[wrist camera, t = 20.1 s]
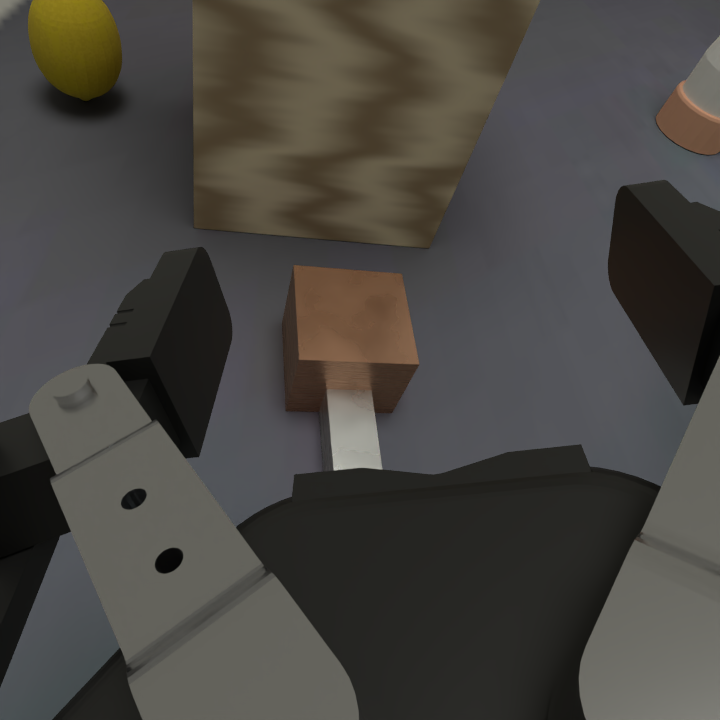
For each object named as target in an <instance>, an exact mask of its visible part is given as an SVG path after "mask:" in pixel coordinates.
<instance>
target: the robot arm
mask: <svg viewBox="0 0 720 720" xmlns="http://www.w3.org/2000/svg"><path fill="white" fill-rule="evenodd" d="M608 275H609V281H610V285H611V288H612V291H613V293H614V294H615V296H616V298H617V299H618V301H619V302H620V304H621V306H622V307H623V309H624V311H625V312H626V314H627V315H628V317H629V319H630V320H631V322H632V323H633V325H634V327H635V328H636V330H637V331H638V333H639V335H640V336H641V338H642V339H643V341H644V343H645V344H646V346H647V348H648V349H649V351H650V352H651V354H652V356H653V357H654V359H655V360H656V362H657V364H658V365H659V367H660V368H661V370H662V372H663V373H664V375H665V377H666V378H667V380H668V381H669V383H670V385H671V386H672V388H673V389H674V391H675V393H676V394H677V396H678V397H679V399H680V401H681V402H682V404H683V405H690V404H698V406H697V408H696V410H695V412H694V415H693V417H692V419H691V421H690V424H689V426H688V428H687V430H686V433H685V435H684V437H683V439H682V442H681V444H680V446H679V448H678V451H677V453H676V455H675V457H674V460H673V462H672V464H671V466H670V469H669V471H668V473H667V475H666V478H665V480H664V482H663V484H662V487H660V486H658V485H656V484H654V483H651V482H649V481H646V480H644V479H641V478H639V477H636V476H633V475H629V474H626V473H622V472H619V471H614V470H609V469H604V468H598V467H590V466H589V464H588V461H587V458H586V456H585V453H584V451H583V448H582V446H581V445H572V446H562V447H553V448H543V449H534V450H524V451H515V452H507V453H504V454H501V455H498V456H495V457H492V458H488V459H485V460H482V461H479V462H476V463H473V464H470V465H467V466H464V467H460V468H457V469H454V470H451V471H448V472H445V473H441V474H434V475H431V474H419V473H410V472H400V471H391V470H381V469H371V468H353V469H344V470H334V471H325V472H315V473H306V474H296V475H294V483H293V492H292V497H290V498H287V499H284V500H281V501H279V502H277V503H275V504H272V505H270V506H268V507H266V508H264V509H263V510H261V511H259V512H257V513H256V514H254V515H252V516H251V517H249V518H248V519H247V520H245V521H244V522H242V523H241V524H239V525H238V526H237V527H235V526H234V524H233V523H232V522H231V520H230V519H229V518H228V516H227V515H226V514H225V512H224V511H223V509H222V508H221V507H220V505H219V504H218V503H217V501H216V500H215V499H214V497H213V496H212V494H211V493H210V492H209V490H208V489H207V488H206V486H205V485H204V484H203V482H202V481H201V479H200V478H199V477H198V475H197V474H196V473H195V471H194V470H193V468H192V467H191V466H190V464H189V463H188V462H187V460H186V459H185V458H193V457H199V455H200V452H201V448H202V445H203V441H204V438H205V434H206V430H207V427H208V423H209V420H210V416H211V413H212V409H213V405H214V402H215V398H216V395H217V391H218V387H219V384H220V380H221V377H222V373H223V370H224V366H225V362H226V359H227V355H228V352H229V348H230V345H231V341H232V323H231V317H230V313H229V310H228V307H227V304H226V302H225V299H224V296H223V293H222V291H221V288H220V285H219V282H218V279H217V277H216V274H215V271H214V268H213V266H212V263H211V260H210V258H209V255H208V253H207V252H206V250H205V249H204V248H203V247H197V248H190V249H184V250H177V251H170V252H165V253H164V254H163V255H162V257H161V259H160V261H159V263H158V265H157V266H156V268H155V270H154V272H153V274H152V276H151V278H150V279H145V280H143V281H142V282H141V283H139V284H138V285H137V286H136V287H135V288H134V289H133V290H131V291H130V292H129V293H128V294H127V295H126V296H125V298H124V300H123V301H122V303H121V305H120V307H119V309H118V310H117V313H118V314H115V316H114V317H113V319H112V321H111V323H110V327H109V328H107V330H106V331H105V333H104V335H103V337H102V338H101V340H100V342H99V344H98V346H97V347H96V349H95V351H94V353H93V354H92V356H91V358H90V360H89V361H88V363H87V365H83V366H79V367H76V368H73V369H70V370H68V371H66V372H63V373H62V374H60V375H58V376H56V377H54V378H53V379H51V380H50V381H49V382H47V383H46V384H45V385H44V386H43V387H42V388H40V389H39V390H38V392H37V393H36V394H35V395H34V397H33V399H32V400H31V403H30V405H29V413H28V414H25V415H22V416H19V417H16V418H13V419H10V420H7V421H4V422H1V423H0V687H1V684H2V682H3V679H4V677H5V674H6V671H7V669H8V666H9V664H10V661H11V659H12V656H13V654H14V651H15V649H16V646H17V644H18V641H19V639H20V636H21V634H22V631H23V628H24V626H25V623H26V621H27V618H28V616H29V613H30V611H31V608H32V606H33V603H34V601H35V598H36V596H37V593H38V591H39V588H40V585H41V583H42V580H43V578H44V575H45V573H46V570H47V568H48V565H49V563H50V560H51V558H52V555H53V553H54V550H55V548H56V545H57V542H58V540H59V537H60V535H63V534H66V533H68V532H72V535H73V537H74V539H75V542H76V544H77V547H78V549H79V551H80V554H81V556H82V558H83V561H84V563H85V565H86V568H87V570H88V572H89V575H90V577H91V580H92V582H93V584H94V587H95V589H96V591H97V594H98V596H99V598H100V601H101V603H102V606H103V608H104V610H105V613H106V615H107V617H108V620H109V622H110V624H111V627H112V629H113V632H114V634H115V636H116V639H117V641H118V643H119V646H120V648H119V649H118V650H117V652H116V653H115V654H114V655H113V656H112V657H111V658H110V659H109V660H108V661H107V662H106V663H105V664H104V665H103V666H102V667H101V669H100V670H99V671H98V672H97V673H96V674H95V675H94V676H93V677H92V678H91V679H90V680H89V681H88V682H87V683H86V684H85V685H84V687H83V688H82V689H81V690H80V691H79V692H78V693H77V694H76V695H75V696H74V697H73V698H72V699H71V700H70V701H69V702H68V703H67V705H66V706H65V707H64V708H63V709H62V710H61V711H60V712H59V713H58V714H57V715H56V716H55V717H54V718H53V719H52V720H720V211H717V210H715V209H712V208H710V207H708V206H705V205H703V204H700V203H698V202H693V203H690V202H689V201H688V200H687V199H686V198H685V197H684V196H682V195H681V194H680V193H679V192H678V191H677V190H676V189H675V188H674V187H673V186H672V185H671V184H670V183H669V182H668V181H666V180H661V181H654V182H647V183H640V184H634V185H627V186H622V187H621V188H620V189H619V191H618V193H617V196H616V202H615V209H614V217H613V226H612V234H611V242H610V250H609V258H608Z"/></svg>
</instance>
